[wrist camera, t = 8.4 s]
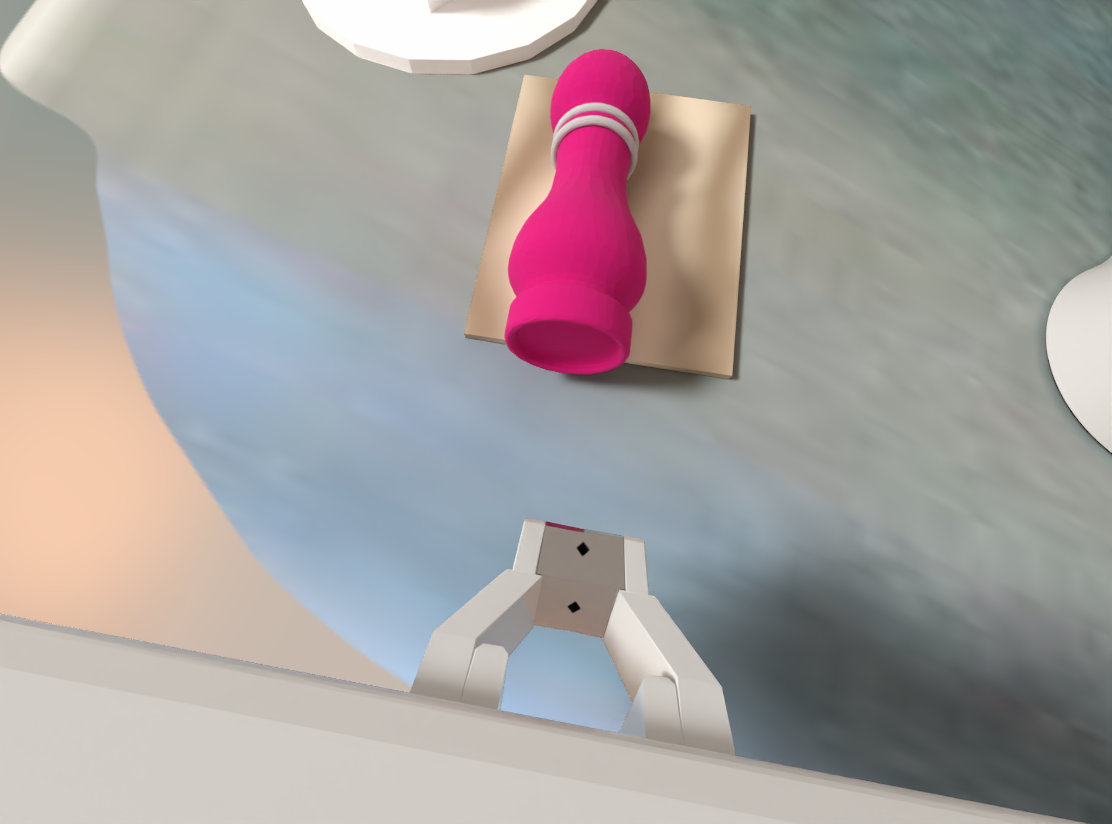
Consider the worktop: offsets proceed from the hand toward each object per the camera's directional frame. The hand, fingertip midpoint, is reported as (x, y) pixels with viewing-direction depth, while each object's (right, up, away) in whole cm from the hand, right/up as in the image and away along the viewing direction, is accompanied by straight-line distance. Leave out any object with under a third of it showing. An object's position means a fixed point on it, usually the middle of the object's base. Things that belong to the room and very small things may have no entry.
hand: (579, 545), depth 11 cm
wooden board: (+3, +16, +18) cm, 24 cm away
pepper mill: (0, +6, +10) cm, 12 cm away
